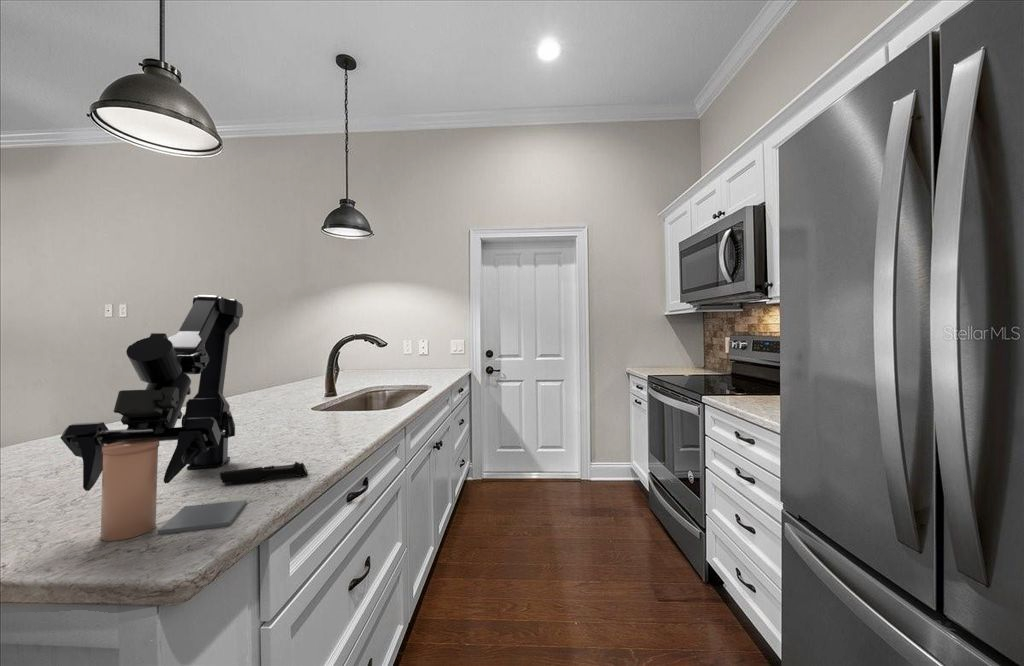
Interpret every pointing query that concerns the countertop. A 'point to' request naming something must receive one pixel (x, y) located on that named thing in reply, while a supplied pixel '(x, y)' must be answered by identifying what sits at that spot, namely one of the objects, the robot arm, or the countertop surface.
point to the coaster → (203, 517)
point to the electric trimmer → (263, 473)
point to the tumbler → (129, 488)
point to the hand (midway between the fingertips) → (127, 485)
